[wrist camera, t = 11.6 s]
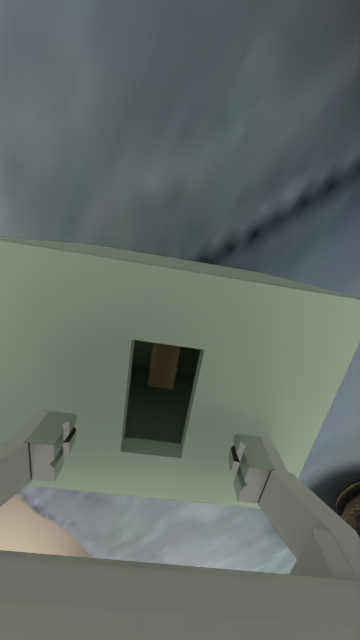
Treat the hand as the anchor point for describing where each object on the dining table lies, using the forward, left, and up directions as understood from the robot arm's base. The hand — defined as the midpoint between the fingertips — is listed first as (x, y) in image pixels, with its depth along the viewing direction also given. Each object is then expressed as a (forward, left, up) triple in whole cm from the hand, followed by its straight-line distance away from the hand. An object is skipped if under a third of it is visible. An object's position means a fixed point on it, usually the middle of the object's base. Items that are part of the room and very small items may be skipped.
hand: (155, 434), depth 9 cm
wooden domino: (0, 0, -15) cm, 15 cm away
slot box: (0, 0, -16) cm, 16 cm away
